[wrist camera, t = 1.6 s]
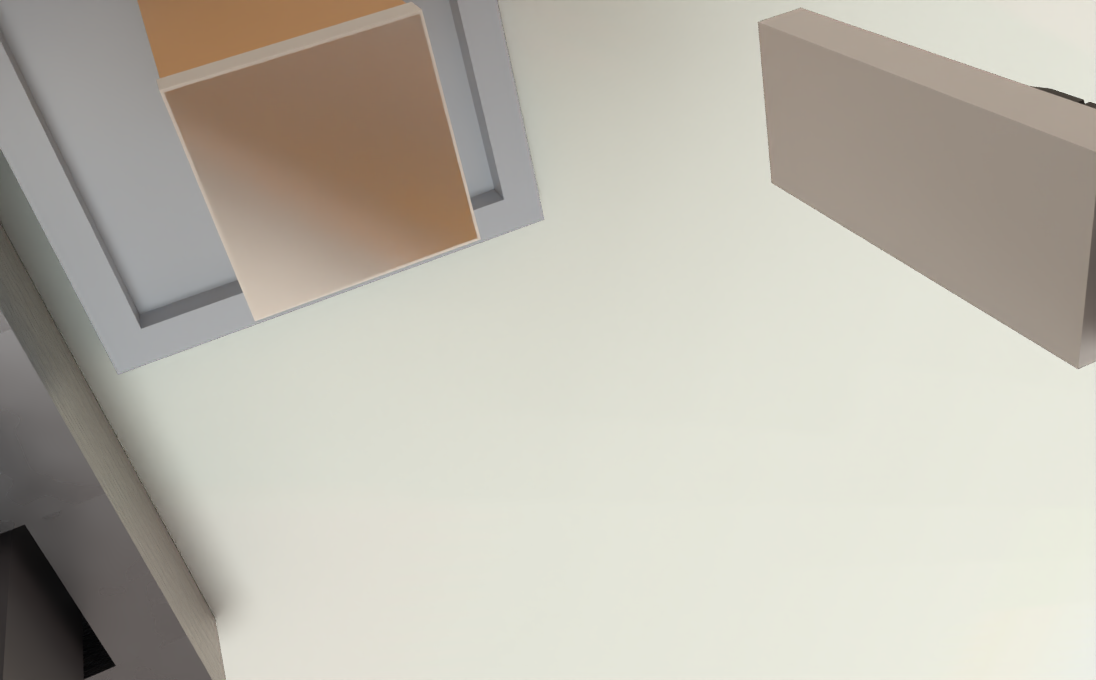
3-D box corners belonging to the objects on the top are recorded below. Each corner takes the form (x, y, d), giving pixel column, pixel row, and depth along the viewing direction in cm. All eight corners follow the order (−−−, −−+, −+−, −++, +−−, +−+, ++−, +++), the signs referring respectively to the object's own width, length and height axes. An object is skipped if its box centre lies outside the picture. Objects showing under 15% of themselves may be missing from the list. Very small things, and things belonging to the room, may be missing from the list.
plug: (126, -31, 23) (159, 89, 15) (302, -80, 24) (422, 9, 16) (194, 138, 26) (254, 321, 18) (353, 87, 26) (480, 239, 18)
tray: (-187, -237, 20) (-199, -236, 19) (401, -369, 23) (416, -373, 22) (116, 352, 28) (117, 374, 27) (528, 204, 30) (544, 219, 29)
